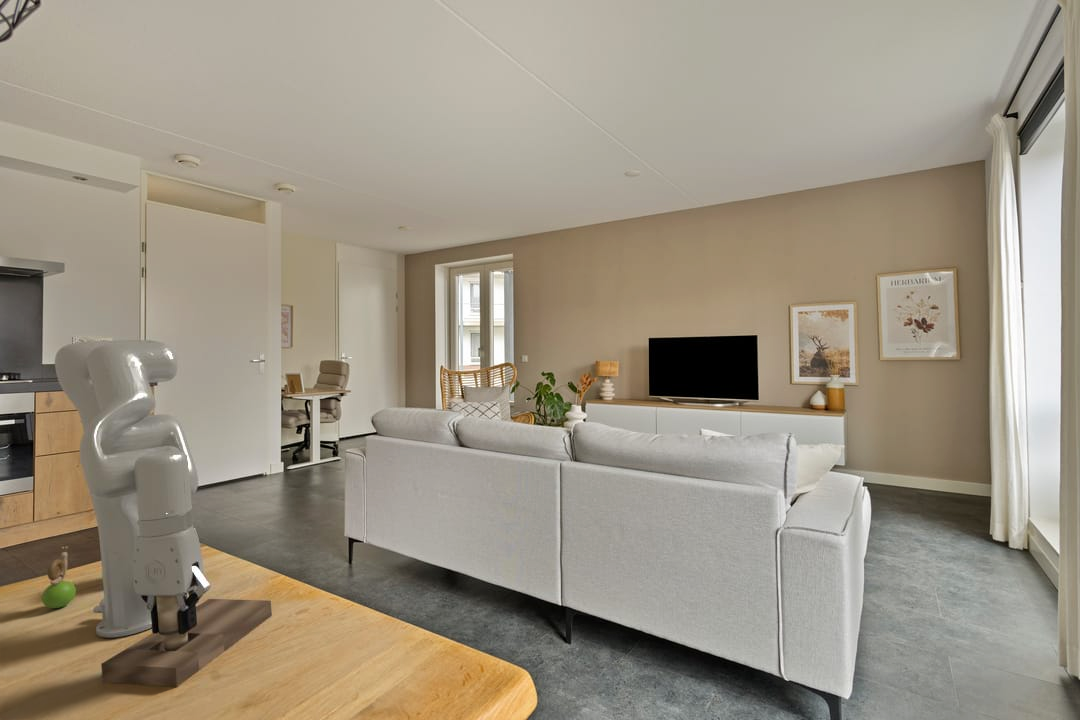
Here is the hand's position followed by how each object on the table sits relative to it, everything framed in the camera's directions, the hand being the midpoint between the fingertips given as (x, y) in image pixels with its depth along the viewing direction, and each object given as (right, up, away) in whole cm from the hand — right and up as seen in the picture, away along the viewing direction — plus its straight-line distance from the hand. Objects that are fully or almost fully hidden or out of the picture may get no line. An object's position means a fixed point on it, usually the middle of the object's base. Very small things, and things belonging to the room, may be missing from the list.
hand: (175, 628), depth 91 cm
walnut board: (+1, -5, +4) cm, 7 cm away
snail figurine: (-41, -7, +24) cm, 48 cm away
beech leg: (0, -3, 0) cm, 3 cm away
